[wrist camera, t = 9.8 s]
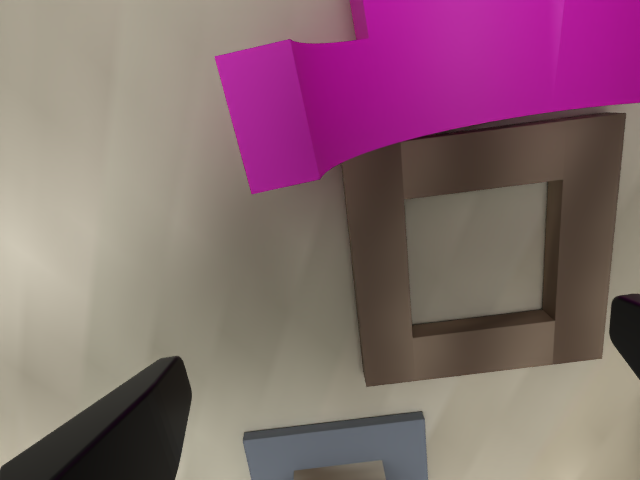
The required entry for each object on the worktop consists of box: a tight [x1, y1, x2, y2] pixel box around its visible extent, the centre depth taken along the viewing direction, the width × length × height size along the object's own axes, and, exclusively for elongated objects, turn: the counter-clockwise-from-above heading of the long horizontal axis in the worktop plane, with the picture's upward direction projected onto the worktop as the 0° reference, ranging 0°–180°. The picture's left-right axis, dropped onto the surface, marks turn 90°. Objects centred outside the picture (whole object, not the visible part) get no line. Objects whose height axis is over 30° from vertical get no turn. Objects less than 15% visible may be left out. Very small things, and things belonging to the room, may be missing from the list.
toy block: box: [215, 0, 640, 194], centre depth 15 cm, size 15×6×8 cm, turn 102°
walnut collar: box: [341, 113, 626, 387], centre depth 20 cm, size 12×12×1 cm
